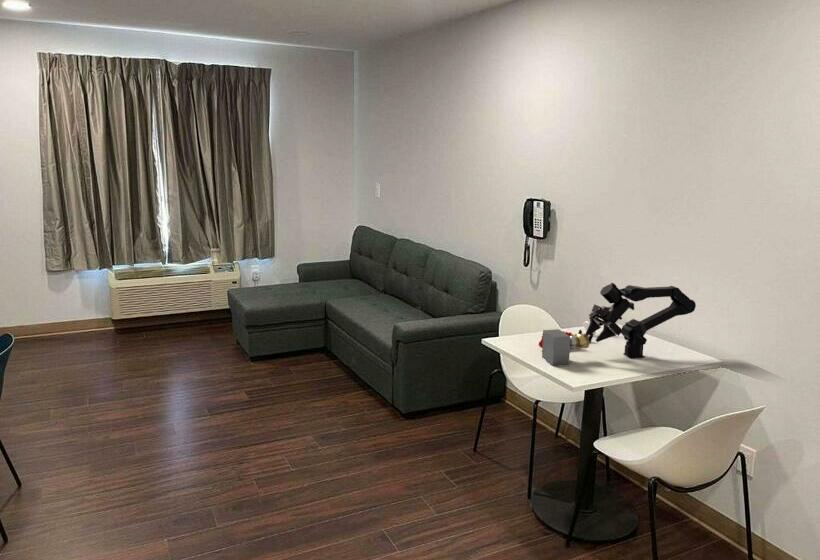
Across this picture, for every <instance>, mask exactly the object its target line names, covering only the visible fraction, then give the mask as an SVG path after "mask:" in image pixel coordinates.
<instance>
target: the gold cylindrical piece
mask: <svg viewBox="0 0 820 560" xmlns="http://www.w3.org/2000/svg"><path fill="white" fill-rule="evenodd" d="M574 335H575V336H570V348H576V349H577V350H578V349H579V350H580V349H587V348H589V347H590V343H589V335H587V334H586V333H582V334H578V333H574Z"/></svg>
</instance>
